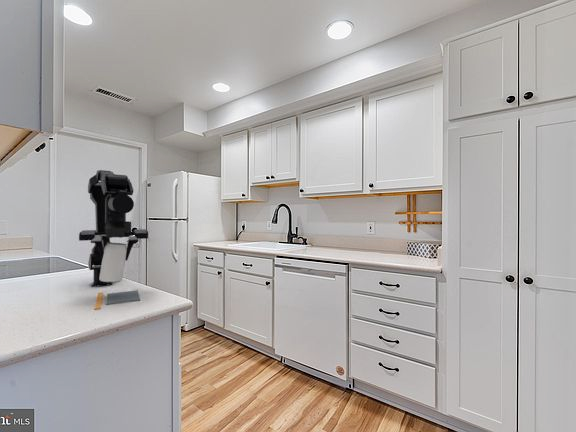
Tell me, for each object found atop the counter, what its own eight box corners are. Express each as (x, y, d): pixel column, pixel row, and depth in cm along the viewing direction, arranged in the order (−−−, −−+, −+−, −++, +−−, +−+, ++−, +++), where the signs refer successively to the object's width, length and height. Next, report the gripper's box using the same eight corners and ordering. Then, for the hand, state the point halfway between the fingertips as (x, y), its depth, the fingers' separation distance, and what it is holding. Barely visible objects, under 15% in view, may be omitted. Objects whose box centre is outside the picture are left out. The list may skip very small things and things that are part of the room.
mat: (107, 294, 95) (107, 293, 95) (137, 291, 100) (137, 290, 100) (106, 305, 85) (106, 303, 85) (139, 300, 90) (139, 299, 90)
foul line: (98, 293, 96) (98, 292, 96) (103, 293, 97) (103, 292, 97) (94, 309, 81) (94, 308, 81) (100, 308, 82) (100, 307, 82)
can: (111, 283, 87) (117, 244, 88) (93, 280, 89) (100, 242, 90) (126, 280, 94) (132, 244, 95) (110, 278, 95) (116, 242, 96)
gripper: (76, 213, 80) (76, 268, 80) (149, 213, 89) (149, 263, 90) (81, 212, 90) (81, 261, 90) (147, 213, 99) (146, 257, 99)
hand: (115, 261), depth 92 cm, fingers closed on can, 6 cm apart
